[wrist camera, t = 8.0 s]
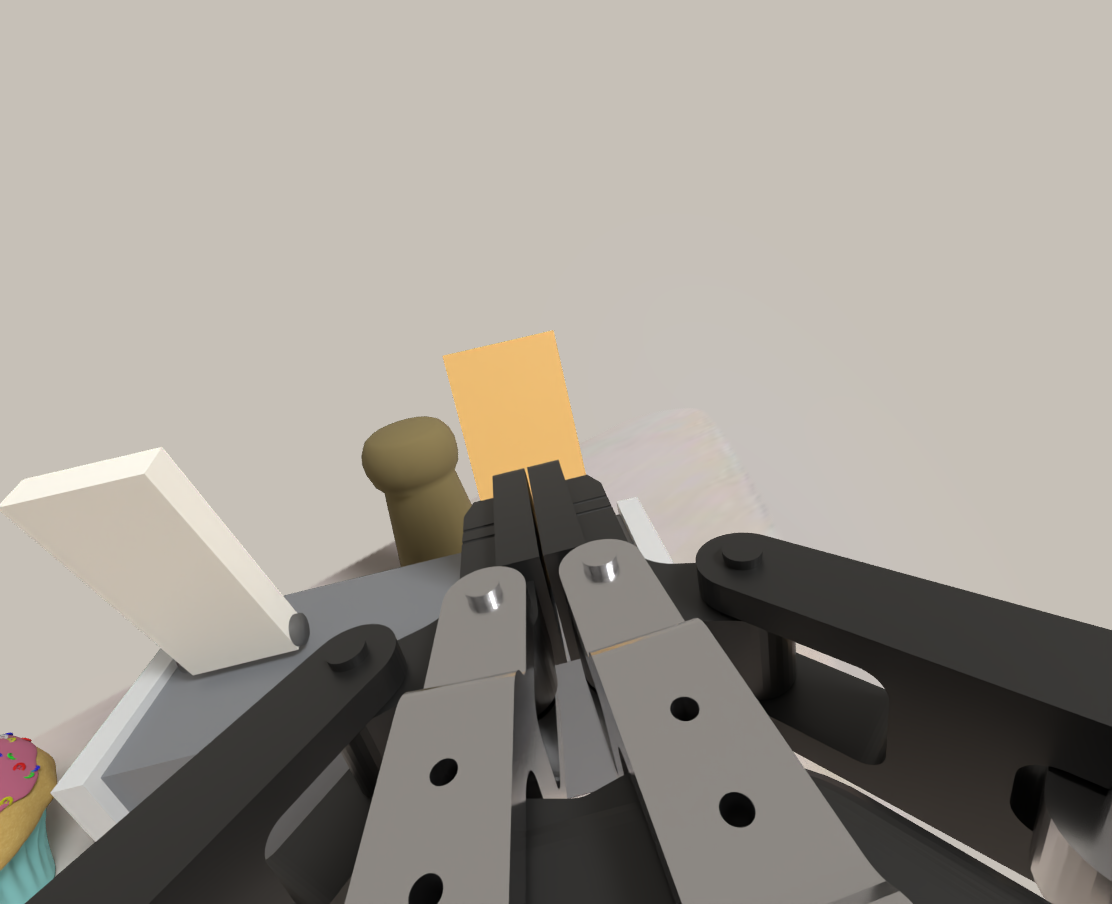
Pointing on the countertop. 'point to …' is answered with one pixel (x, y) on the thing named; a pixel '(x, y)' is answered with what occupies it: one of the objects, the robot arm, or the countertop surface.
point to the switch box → (225, 694)
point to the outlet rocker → (514, 408)
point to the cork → (419, 486)
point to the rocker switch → (159, 559)
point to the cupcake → (24, 819)
